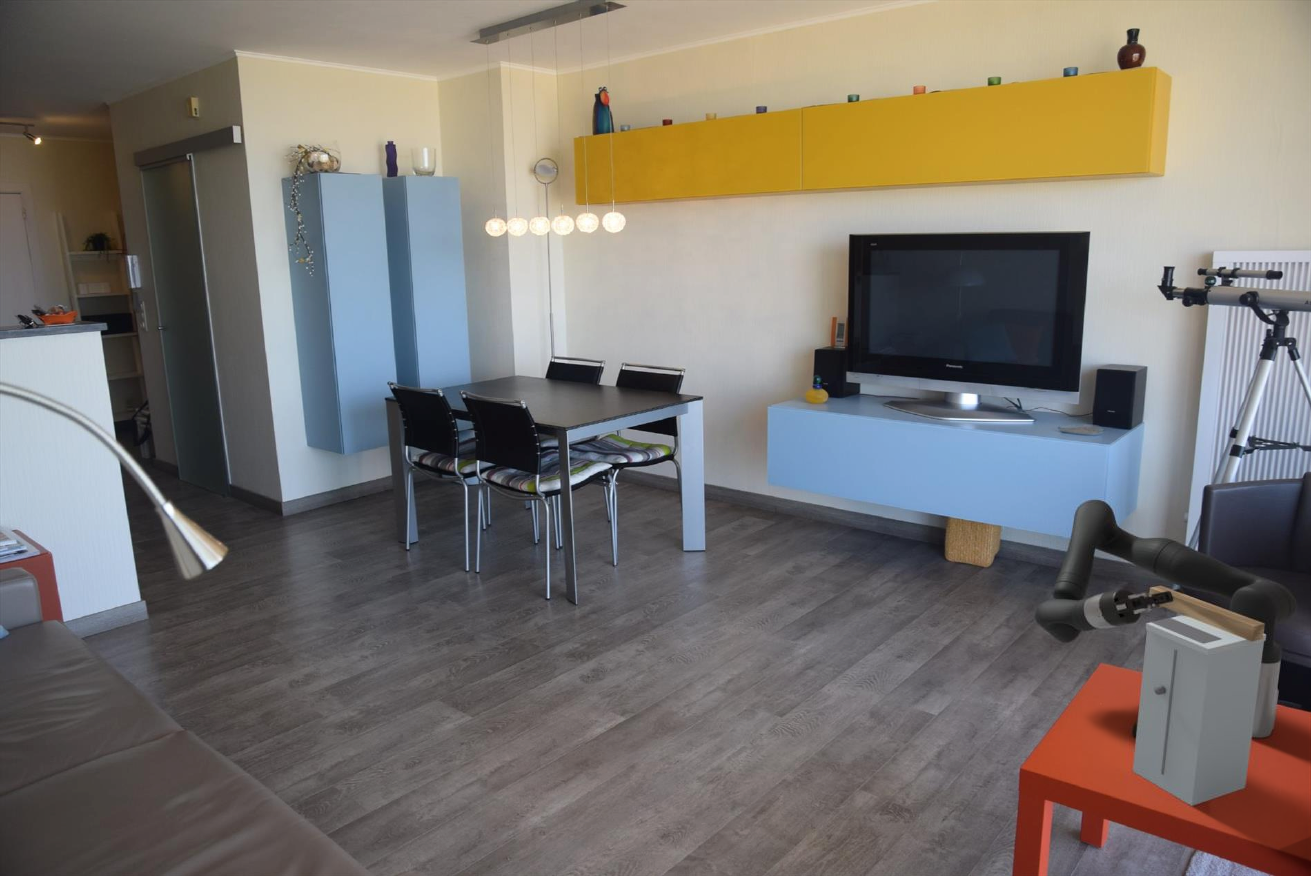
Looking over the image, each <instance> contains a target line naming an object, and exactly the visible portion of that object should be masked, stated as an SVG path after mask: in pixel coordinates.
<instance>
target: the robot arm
mask: <svg viewBox="0 0 1311 876" xmlns="http://www.w3.org/2000/svg"><path fill="white" fill-rule="evenodd" d="M1073 517H1074V518H1073V523H1072V529H1071V530H1072V531H1071V535H1070V537H1069V538H1070V539H1069V543H1068V548H1067V551H1066V554H1065V556H1064V560H1063V564H1062V566H1061V567H1060V571H1059V573H1058V576H1057V579H1056V581H1055V584H1054V587H1053V589H1052V597H1053V598H1052V599H1048V600H1045V601H1043V602H1042V603H1040V604H1038V606H1037V607H1036V609H1035V612H1034V620H1035V622H1036V623H1037V624H1038V625H1039V626H1040V628H1042V629H1043V630H1045V631H1046V632H1047V633H1048V634H1050V635H1051V636H1052V637H1053V638H1054V639H1056V640H1057V641H1059V642H1060V643H1064V644H1068V643H1071V642H1074V641H1075V640H1077V638H1078V637H1079V636H1080V635H1081V633H1082V632H1090V631H1091V632H1092V631H1094V630H1095V631H1096V630H1100V629H1111V628H1117V627H1120V626H1121V627H1122V626H1126V625H1131V624H1135V623H1136V622H1138V621H1139V620H1140V618H1141V614H1142V613H1146V612H1151V611H1152V610H1154V609H1158V608H1162V606H1159V604H1164V603H1168V602H1172V601H1173V597H1172V594H1171V592H1170V591H1166V592H1161V593H1157V594H1150V591H1149V592H1140V593H1136V594H1135V593H1133V592H1132V591H1131V590H1129V589H1126V588H1119V589H1118V588H1117V589H1115V590H1110V591H1106V592H1102V593H1098V594H1095V595H1093V596H1091V597H1086V594H1087V592H1088V589H1089V587H1090V583H1091V580H1092V575H1093V571H1094V570H1093V569H1094V562H1095V561H1094V559H1095V552H1096V550H1098V551H1100V552H1103V553H1106V554H1108V555H1111V556H1114V557H1116V558H1119V559H1122V560H1125V561H1127V562H1128V563H1129V564H1130V563H1131V564H1132V565H1135V566H1137V567H1139V568H1141V569H1144V570H1145V571H1147V572H1150V573H1151V574H1153V575H1155V576H1157V577H1159V578H1162V579H1163V580H1165V581H1167V582H1169V583H1172V584H1174V585H1176V586H1179V587H1181V588H1177V589H1176V588H1175V589H1172V590H1173V591H1176V592H1179V593H1182V594H1185V591H1184V589H1183V588H1186V589H1189V590H1194V591H1198V592H1204V593H1209V594H1212V595H1213V594H1214V595H1217V596H1221V597H1224V598H1226V599H1229V600H1230V603H1229V605H1230V606H1229V611H1231V612H1234V613H1237V614H1239V615H1242V616H1245V617H1248V618H1250V619H1253V620H1256V621H1259V622H1261V623H1264V624H1265V626H1264V634H1266V640H1265V641H1264V645H1263V652H1262V660H1261V668H1260V676H1259V684H1258V691H1257V699H1256V707H1255V715H1254V723H1253V730H1252V738H1267V737H1269V736H1270V735H1272V730H1274V728H1275V720H1276V714H1277V713H1276V712H1277V706H1278V699H1279V689H1278V683H1279V676H1280V669H1281V660H1282V655H1283V649H1282V646H1281V645H1280V644H1279V643H1278V642H1276V641H1275V630H1276V629H1275V628H1276V625H1279V624H1282V623H1284V622H1286V621H1288V620H1290V619H1292V618H1293V616H1294V615H1295V614H1296V612H1297V608H1298V606H1297V601H1296V598H1295V596H1294V595H1293V594H1292V592H1291V591H1290V590H1289V589H1288V588H1286V587H1285V586H1284V585H1283V584H1280V583H1278V582H1276V581H1274V580H1271V579H1267V578H1266V577H1262V576H1259V575H1256V574H1254V573H1253V574H1252V573H1250V572H1247V571H1244V570H1241V569H1239V568H1236V567H1234V566H1231V565H1230V564H1227V563H1224V562H1223V561H1220V560H1218V559H1216V558H1214V557H1212V556H1209V555H1207V554H1204V553H1202V552H1201V551H1198V550H1196V549H1194V548H1192V547H1190V546H1188V545H1185V544H1183V543H1181V542H1179V541H1176V540H1173V539H1171V538H1167V537H1149V538H1148V537H1146V538H1145V537H1139V536H1137V535H1135V534H1132V533H1129V532H1128V531H1126V530H1124V529H1122V528H1121V527H1119V525H1118V523H1117V520H1116V516H1115V513H1114V511H1113V509H1112V507H1111V505H1109V504H1108V503H1107V502H1106V501H1104V500H1100V499H1090V500H1086V501H1085V502H1083V503H1081V504H1080V505H1079V506H1078V507H1077V508H1076V510H1075V513H1074V516H1073ZM1182 587H1183V588H1182ZM1153 595H1154V596H1153ZM1185 595H1186V594H1185Z"/></svg>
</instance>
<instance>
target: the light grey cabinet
mask: <svg viewBox="0 0 1311 876" xmlns="http://www.w3.org/2000/svg"><path fill="white" fill-rule="evenodd" d="M1145 630H1146V638H1145V648H1144V654H1143V655H1144V656H1143V664H1142V665H1143V666H1142V675H1141V685H1140V696H1139V706H1138V707H1139V708H1138V714H1137V715H1138V717H1137V723H1138V724H1137V734H1136V739H1135V746H1134V755H1133V756H1134V757H1133V766H1132V772H1133V773H1135V774H1137V776H1140V777H1142V778H1143V779H1145V780H1147V781H1149V782H1150V783H1152V784H1154V785H1155V786H1157V787H1159V788H1160V789H1162V790H1164V791H1165V792H1167V793H1169V794H1170V795H1172V796H1174V797H1176V798H1177V799H1179V800H1181V801H1183V803H1186V804H1187V805H1189V806H1190V807H1192V806H1195V805H1199V804H1202V803H1204V802H1208V801H1211V800H1213V799H1216V798H1217V799H1218V798H1219V797H1222V796H1225V795H1228V794H1231V793H1235V792H1237V791H1240V790H1243V789H1245V788H1246V784H1247V776H1248V767H1249V761H1250V760H1249V759H1250V752H1251V746H1252V745H1251V743H1252V739H1253V737H1252V730H1253V723H1254V715H1255V707H1256V699H1257V691H1258V684H1259V676H1260V668H1261V660H1262V652H1263V645H1264V641H1265V640H1266V634H1263V639H1260V640H1256V641H1249V640H1247V639H1244V638H1242V637H1239V636H1237V635H1234V634H1231V633H1229V632H1226V631H1224V630H1221V629H1219V628H1216V627H1213V626H1211V625H1208V624H1206V623H1203V622H1201V621H1198V620H1195V619H1193V618H1190V617H1188V616H1185V615H1183V614H1180V615H1178V616H1177V615H1176V616H1174V617H1169V618H1168V617H1167V618H1163V619H1159V620H1154V621H1150V622H1147V623H1145Z"/></svg>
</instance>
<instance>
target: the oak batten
mask: <svg viewBox="0 0 1311 876" xmlns="http://www.w3.org/2000/svg"><path fill="white" fill-rule="evenodd" d="M1173 590H1174V589H1171V588H1168V587H1165V586H1163V585H1157V586H1152V587H1149V592H1150V594H1157V593H1161V592H1166V591H1170V592H1171V594H1172V597H1173V601H1172V602H1168V603H1164V604H1159V606H1162V607H1163V608H1165V609H1167V610H1170V611H1173V612H1175V613H1178V614H1180V615H1185V616H1188V617H1190V618H1193V619H1195V620H1198V621H1201V622H1203V623H1206V624H1208V625H1211V626H1213V627H1216V628H1219V629H1221V630H1224V631H1226V632H1229V633H1231V634H1234V635H1237V636H1239V637H1242V638H1244V639H1247V640H1249V641H1256V640H1260V639H1263V634H1264V626H1265V624H1264V623H1261V622H1259V621H1256V620H1253V619H1250V618H1248V617H1245V616H1242V615H1239V614H1237V613H1234V612H1231V611H1230V609H1225V608H1223V607H1220V606H1217V605H1214V604H1212V603H1209V602H1207V601H1204V600H1200V599H1198V598H1195V597H1193V596H1190V595H1187V594H1182V593H1179V592H1176V591H1173ZM1153 596H1154V595H1153ZM1162 607H1161V608H1162Z"/></svg>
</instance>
